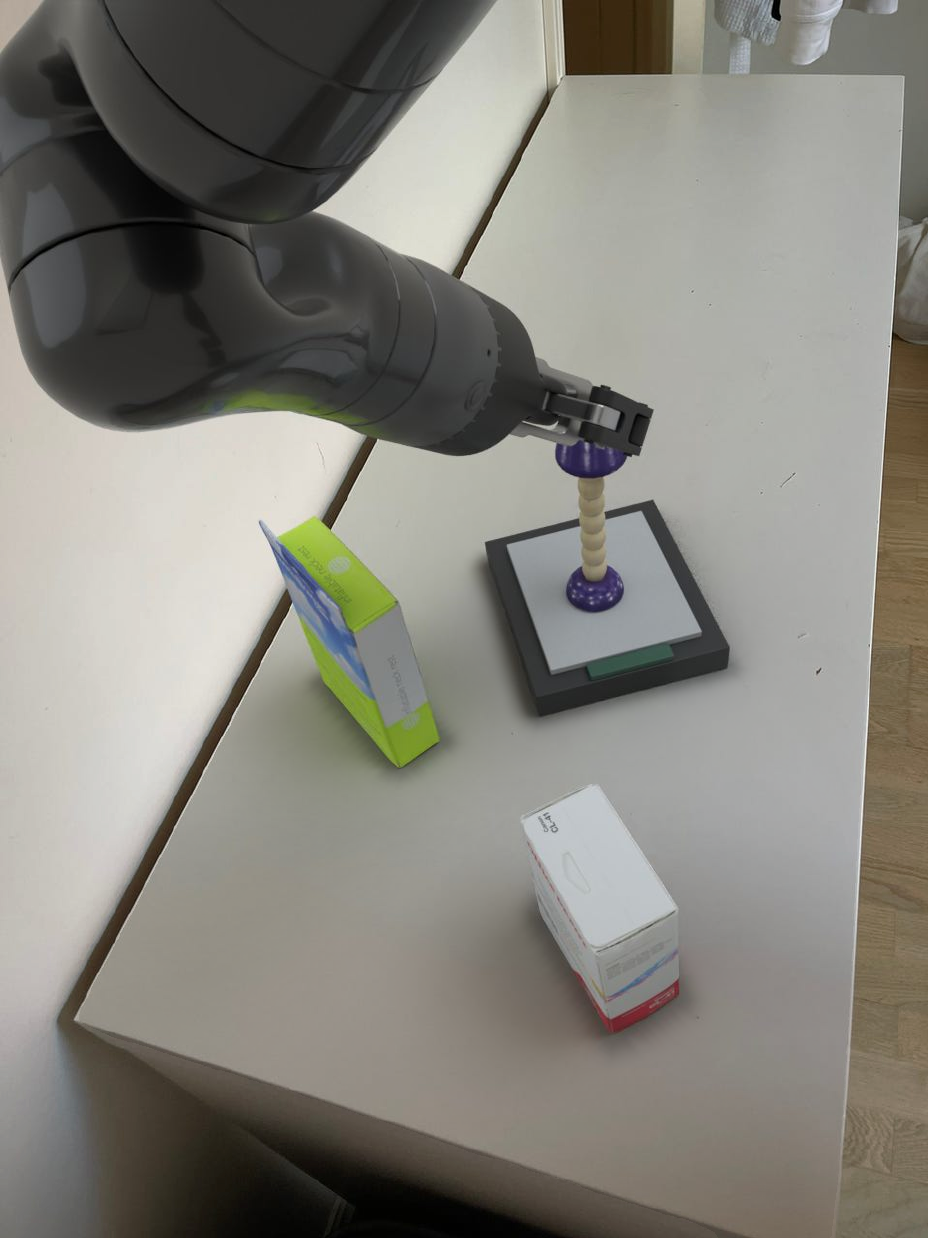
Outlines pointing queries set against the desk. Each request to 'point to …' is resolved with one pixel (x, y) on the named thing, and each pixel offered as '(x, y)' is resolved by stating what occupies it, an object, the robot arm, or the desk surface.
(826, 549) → the desk surface
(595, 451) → the toy lamp
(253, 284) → the robot arm
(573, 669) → the scale
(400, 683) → the box
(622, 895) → the ink box
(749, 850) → the desk surface
